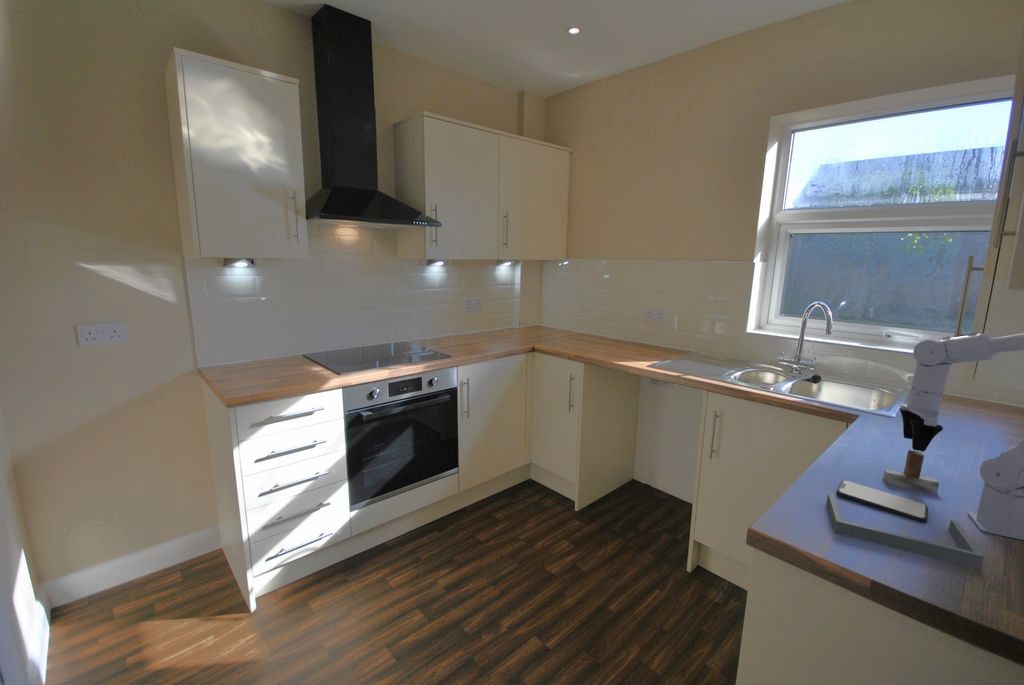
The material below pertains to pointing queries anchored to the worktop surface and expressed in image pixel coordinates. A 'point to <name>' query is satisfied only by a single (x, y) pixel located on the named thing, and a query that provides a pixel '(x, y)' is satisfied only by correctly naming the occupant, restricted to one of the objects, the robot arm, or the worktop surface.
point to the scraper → (911, 475)
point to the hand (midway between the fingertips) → (913, 444)
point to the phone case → (883, 501)
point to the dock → (910, 539)
